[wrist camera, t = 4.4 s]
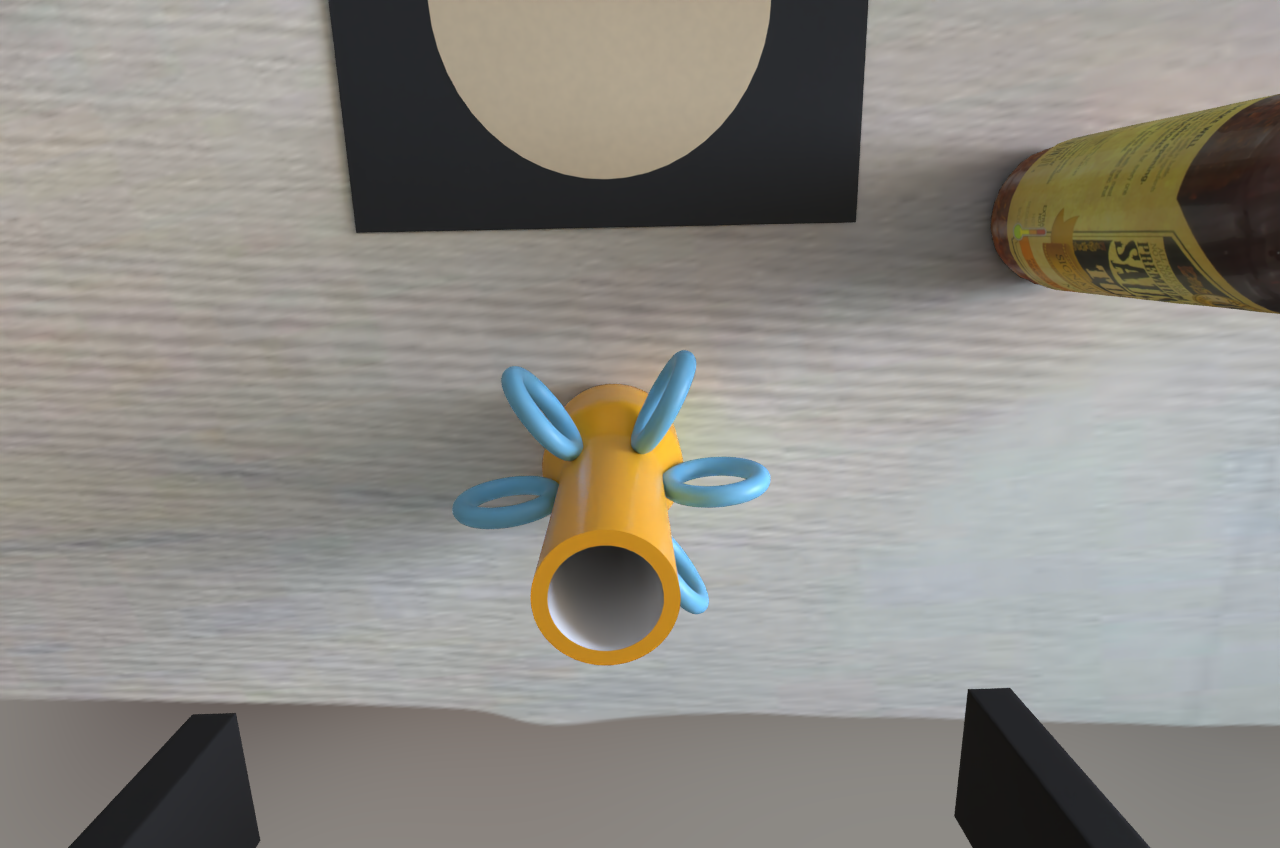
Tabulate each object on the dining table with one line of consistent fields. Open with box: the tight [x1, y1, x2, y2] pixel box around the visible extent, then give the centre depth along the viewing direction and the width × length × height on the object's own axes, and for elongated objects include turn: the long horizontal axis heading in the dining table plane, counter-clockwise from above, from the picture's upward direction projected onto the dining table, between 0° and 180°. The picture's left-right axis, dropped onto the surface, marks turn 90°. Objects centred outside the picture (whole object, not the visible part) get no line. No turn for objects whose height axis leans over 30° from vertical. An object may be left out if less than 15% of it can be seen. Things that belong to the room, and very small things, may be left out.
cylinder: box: [452, 350, 770, 665], centre depth 26 cm, size 12×10×15 cm
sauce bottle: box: [991, 94, 1280, 314], centre depth 21 cm, size 7×6×20 cm
